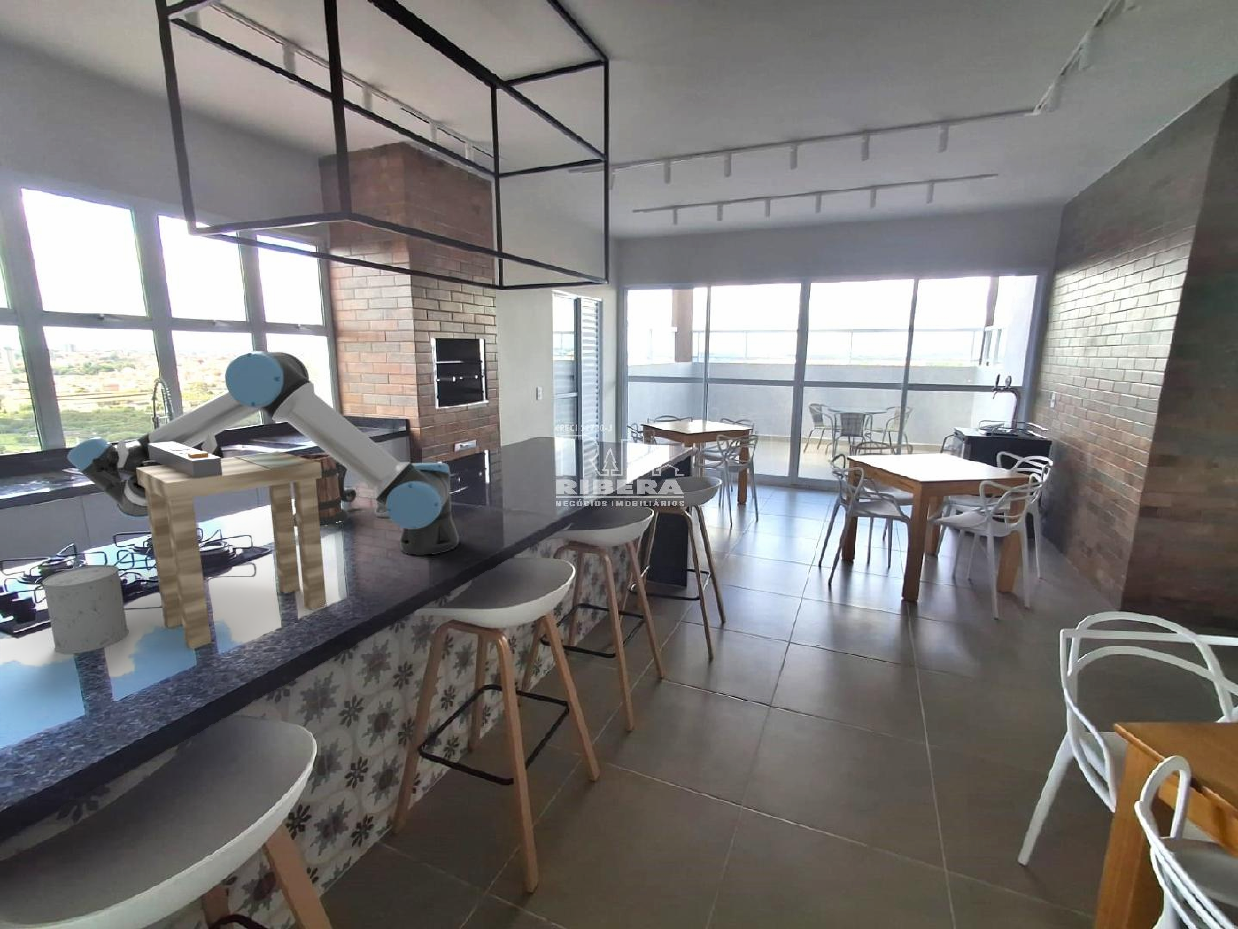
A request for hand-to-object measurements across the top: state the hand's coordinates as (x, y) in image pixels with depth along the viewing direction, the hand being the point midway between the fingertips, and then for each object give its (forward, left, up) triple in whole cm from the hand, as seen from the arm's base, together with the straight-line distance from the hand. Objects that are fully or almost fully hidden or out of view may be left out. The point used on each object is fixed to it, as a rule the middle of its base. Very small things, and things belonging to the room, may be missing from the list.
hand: (170, 443), depth 104 cm
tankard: (+4, -65, -34) cm, 74 cm away
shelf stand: (-12, +3, -34) cm, 36 cm away
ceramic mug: (-15, -69, -34) cm, 79 cm away
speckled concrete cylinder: (+9, +13, -34) cm, 37 cm away
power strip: (-5, +4, -4) cm, 7 cm away
